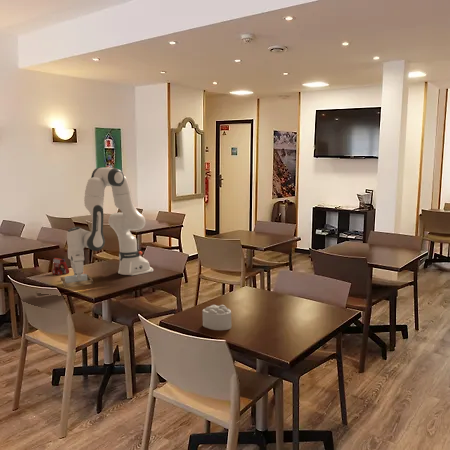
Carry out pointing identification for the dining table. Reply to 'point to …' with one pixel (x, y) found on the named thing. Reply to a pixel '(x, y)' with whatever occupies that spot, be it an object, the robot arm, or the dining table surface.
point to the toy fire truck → (60, 267)
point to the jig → (89, 281)
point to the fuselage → (75, 278)
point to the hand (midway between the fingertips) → (77, 278)
